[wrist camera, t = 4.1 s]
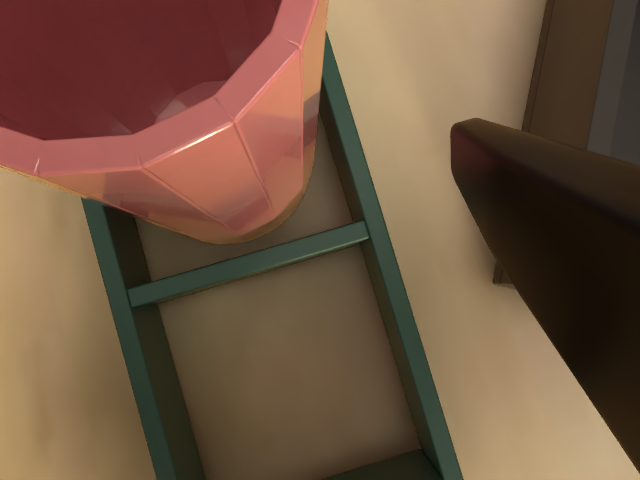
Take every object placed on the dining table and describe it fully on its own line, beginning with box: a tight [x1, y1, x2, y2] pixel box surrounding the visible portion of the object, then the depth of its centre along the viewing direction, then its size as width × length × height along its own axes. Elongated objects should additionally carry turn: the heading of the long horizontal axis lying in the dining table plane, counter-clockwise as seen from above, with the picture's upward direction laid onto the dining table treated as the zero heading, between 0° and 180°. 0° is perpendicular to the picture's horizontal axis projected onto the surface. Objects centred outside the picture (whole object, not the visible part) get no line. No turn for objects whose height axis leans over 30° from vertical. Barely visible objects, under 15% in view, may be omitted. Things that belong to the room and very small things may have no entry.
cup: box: [0, 0, 329, 244], centre depth 13 cm, size 6×6×13 cm
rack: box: [81, 31, 464, 480], centre depth 18 cm, size 17×9×3 cm, turn 16°
